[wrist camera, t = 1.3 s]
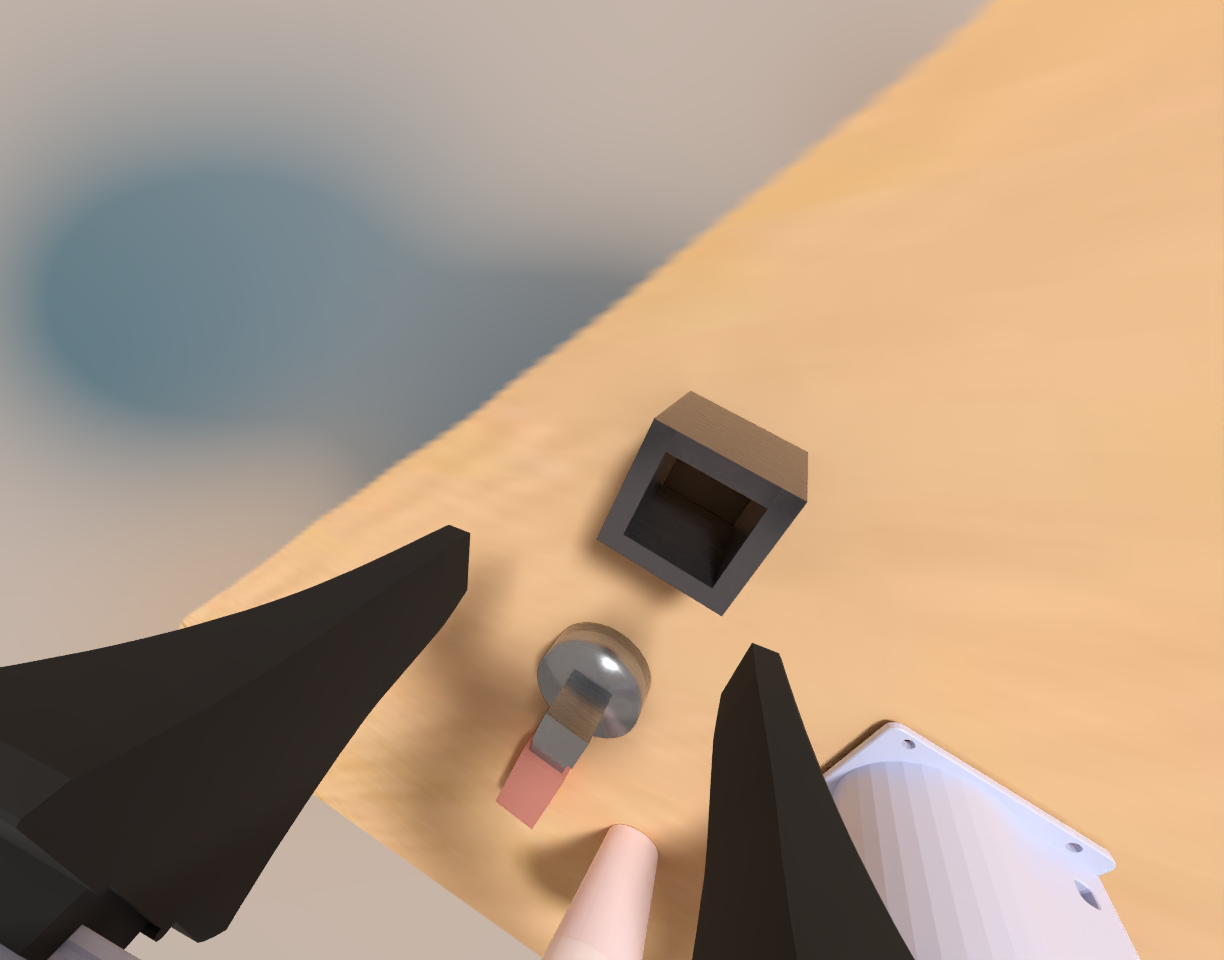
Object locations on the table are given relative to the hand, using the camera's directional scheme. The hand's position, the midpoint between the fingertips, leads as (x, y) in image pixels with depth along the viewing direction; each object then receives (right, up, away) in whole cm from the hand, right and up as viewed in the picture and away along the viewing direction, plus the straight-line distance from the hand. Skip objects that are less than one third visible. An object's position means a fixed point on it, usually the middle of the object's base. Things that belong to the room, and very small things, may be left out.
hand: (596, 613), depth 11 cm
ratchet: (-2, -13, +18) cm, 22 cm away
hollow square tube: (+5, +4, +8) cm, 10 cm away
